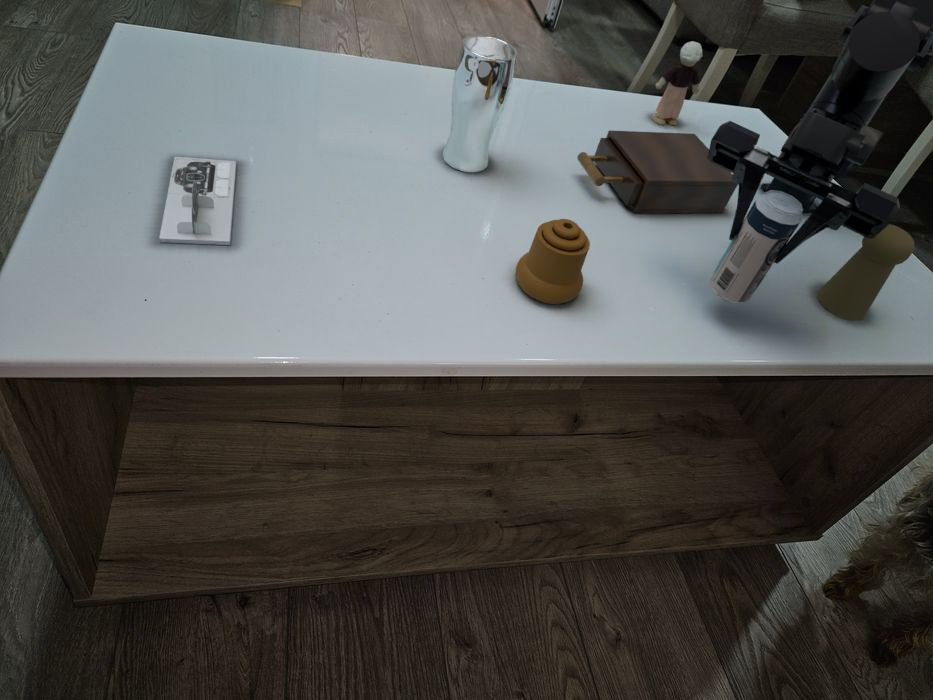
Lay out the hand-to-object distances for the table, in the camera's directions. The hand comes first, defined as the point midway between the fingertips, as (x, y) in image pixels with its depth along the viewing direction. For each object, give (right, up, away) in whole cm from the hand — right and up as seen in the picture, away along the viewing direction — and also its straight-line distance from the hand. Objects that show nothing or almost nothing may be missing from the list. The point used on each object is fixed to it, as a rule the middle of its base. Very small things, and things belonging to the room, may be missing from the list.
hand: (752, 250), depth 71 cm
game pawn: (+17, -5, +14) cm, 22 cm away
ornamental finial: (-21, -3, +5) cm, 22 cm away
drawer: (-6, +13, +23) cm, 27 cm away
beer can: (0, -4, +6) cm, 7 cm away
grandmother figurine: (+2, +27, +41) cm, 49 cm away
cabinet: (-3, +12, +25) cm, 28 cm away
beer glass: (-30, +15, +20) cm, 39 cm away
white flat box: (-58, +6, +3) cm, 58 cm away
